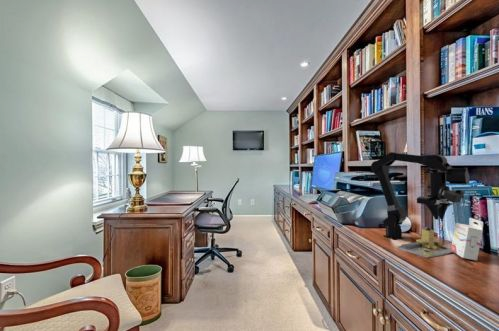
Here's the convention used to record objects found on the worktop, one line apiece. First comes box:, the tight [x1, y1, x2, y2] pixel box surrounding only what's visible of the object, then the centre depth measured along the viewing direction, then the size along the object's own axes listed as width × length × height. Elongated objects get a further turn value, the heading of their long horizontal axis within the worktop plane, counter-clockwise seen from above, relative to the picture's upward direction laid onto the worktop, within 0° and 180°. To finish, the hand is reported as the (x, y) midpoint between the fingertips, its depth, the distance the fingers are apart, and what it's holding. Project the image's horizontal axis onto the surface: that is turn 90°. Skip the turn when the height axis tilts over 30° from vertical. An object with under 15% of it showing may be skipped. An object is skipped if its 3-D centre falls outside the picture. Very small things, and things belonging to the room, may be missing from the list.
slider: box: [415, 226, 437, 249], centre depth 107 cm, size 8×3×8 cm, turn 17°
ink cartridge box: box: [450, 217, 484, 262], centre depth 96 cm, size 9×5×15 cm, turn 168°
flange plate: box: [397, 244, 455, 259], centre depth 105 cm, size 13×19×1 cm
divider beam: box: [401, 239, 445, 249], centre depth 107 cm, size 8×18×3 cm, turn 107°
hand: (439, 219), depth 109 cm, fingers open, 3 cm apart
